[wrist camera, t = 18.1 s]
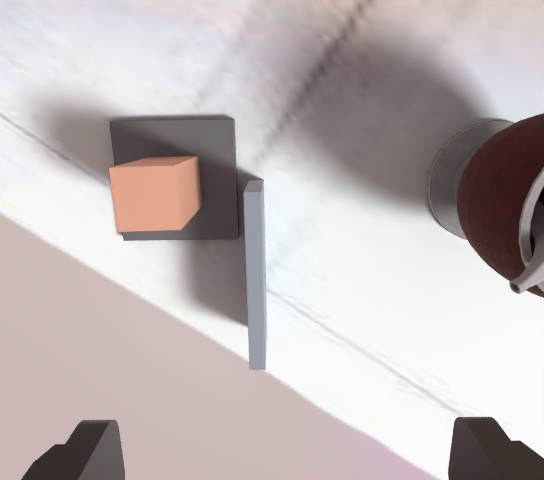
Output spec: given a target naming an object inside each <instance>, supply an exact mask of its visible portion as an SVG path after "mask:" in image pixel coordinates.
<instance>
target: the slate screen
mask: <svg viewBox="0 0 544 480" xmlns="http://www.w3.org/2000/svg"><path fill="white" fill-rule="evenodd" d="M243 193H244V222H245V251H246V280H247V309H248V337H249V365H250V370H265V366H266V335H267V320H266V273H265V226H264V180H249V181H248V183H247V185H246V188H245V190H244V192H243Z"/></svg>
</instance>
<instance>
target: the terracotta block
mask: <svg viewBox="0 0 544 480" xmlns="http://www.w3.org/2000/svg"><path fill="white" fill-rule="evenodd" d="M109 173H110V181H111V188H112V195H113V202H114V209H115V216H116V224H117V231H118V232H131V231H163V230H181V229H182V228H183V227H184V226H185V225H186V224H187V222H188V221H189V220H190V219H191V218H192V217H193V216H194V215H195V213H196V212H197V211H198V210H199V209H200V208H201V207H202V197H201V184H200V172H199V159H198V156H181V157H151V158H144V159H141V160H137V161H133V162H129V163H125V164H121V165H118V166H114V167H110V168H109Z"/></svg>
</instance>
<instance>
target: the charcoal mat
mask: <svg viewBox="0 0 544 480" xmlns="http://www.w3.org/2000/svg"><path fill="white" fill-rule="evenodd" d="M110 130H111V138H112V147H113V155H114V163H115V166H118V165H121V164H125V163H129V162H133V161H137V160H141V159H144V158H151V157H181V156H198V159H199V172H200V184H201V197H202V207H201V208H200V209H199V210H198V211H197V212H196V213H195V215H194V216H193V217H192V218H191V219H190V220H189V221H188V222H187V224H186V225H185V226H184V227H183V228H182V229H181V230H163V231H131V232H123V239H124V241H132V240H202V239H238V238H239V224H238V198H237V173H236V147H235V121H234V119H217V120H156V121H110Z"/></svg>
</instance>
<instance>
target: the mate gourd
mask: <svg viewBox="0 0 544 480" xmlns="http://www.w3.org/2000/svg"><path fill="white" fill-rule="evenodd" d="M427 194H428V200H429V204H430V208H431V210H432V212H433V214H434V216H435V218H436V219H437V220H438V222H439V223H440V224H441V225H442V226H443V227H444V228H445V229H447V230H448V231H449V232H451V233H452V234H454V235H456V236H458V237H460V238H462V239H466V240H468V242H469V243H470V245H471V246H472V247H473V248H474V250H475V251H476V252H477V253H478V255H479V256H480V257H481V258H482V259H483V260H484V261H485V262H486V263H487V264H488V265H489V266H490V267H491V268H492V269H494V270H495V271H496V272H497V273H499V274H500V275H501V276H503V277H504V278H506V279H508V280H509V281H510V283H509V284H510V287H511V289H512V290H513V291H514V292H515V293H518V294H520V293H522V292H524V291H526V290H527V291H529V292H531V293H533V294H536V295H538V296H541V297H543V298H544V113H543V114H540V115H536V116H533V117H530V118H527V119H524V120H521V121H519V122H517V123H512V122H507V121H489V122H482V123H479V124H476V125H473V126H470V127H468V128H466V129H464V130H463V131H461V132H459V133H457V134H456V135H455V136H454V137H453V138H451V139H450V140H449V141H448V142H447V143H446V144H445V145H444V147H443V148H442V149H441V150H440V151H439V153H438V155H437V156H436V158H435V160H434V162H433V164H432V167H431V170H430V172H429V177H428V183H427Z"/></svg>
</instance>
